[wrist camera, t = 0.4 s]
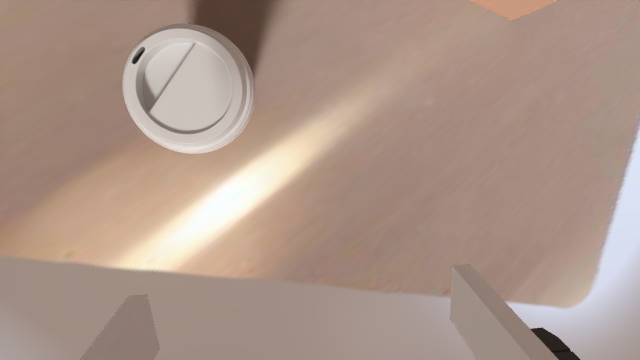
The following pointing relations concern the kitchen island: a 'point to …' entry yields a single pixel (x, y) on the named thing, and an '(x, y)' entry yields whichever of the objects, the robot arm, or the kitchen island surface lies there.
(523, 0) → the tile
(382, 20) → the kitchen island surface
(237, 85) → the coffee cup
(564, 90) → the kitchen island surface
